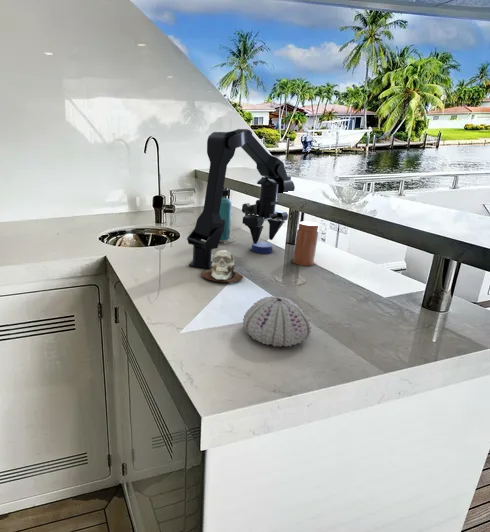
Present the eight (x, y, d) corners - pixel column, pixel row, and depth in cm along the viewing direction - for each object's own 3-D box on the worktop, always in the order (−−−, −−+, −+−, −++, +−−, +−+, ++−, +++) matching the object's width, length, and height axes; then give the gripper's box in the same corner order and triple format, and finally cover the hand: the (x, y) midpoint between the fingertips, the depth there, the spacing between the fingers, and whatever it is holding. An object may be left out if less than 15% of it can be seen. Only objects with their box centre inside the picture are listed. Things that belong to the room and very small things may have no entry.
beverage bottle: (230, 244, 142) (235, 190, 135) (212, 244, 142) (216, 190, 135) (227, 240, 148) (232, 188, 141) (210, 239, 148) (214, 187, 142)
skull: (244, 283, 102) (220, 254, 101) (214, 302, 107) (191, 274, 106) (249, 268, 112) (227, 241, 112) (221, 286, 117) (201, 260, 116)
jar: (313, 266, 120) (320, 226, 116) (292, 264, 122) (298, 224, 118) (313, 260, 126) (319, 222, 121) (293, 258, 128) (298, 220, 123)
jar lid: (259, 246, 140) (260, 240, 139) (276, 251, 135) (276, 245, 134) (247, 250, 136) (248, 243, 135) (264, 254, 131) (264, 248, 130)
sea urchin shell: (320, 351, 73) (327, 314, 70) (251, 353, 72) (256, 315, 69) (292, 319, 85) (297, 286, 83) (233, 320, 84) (236, 287, 82)
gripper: (264, 192, 141) (260, 233, 146) (232, 196, 129) (228, 240, 135) (291, 196, 133) (285, 239, 138) (258, 201, 121) (253, 248, 127)
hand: (263, 241), depth 134 cm, fingers open, 9 cm apart
